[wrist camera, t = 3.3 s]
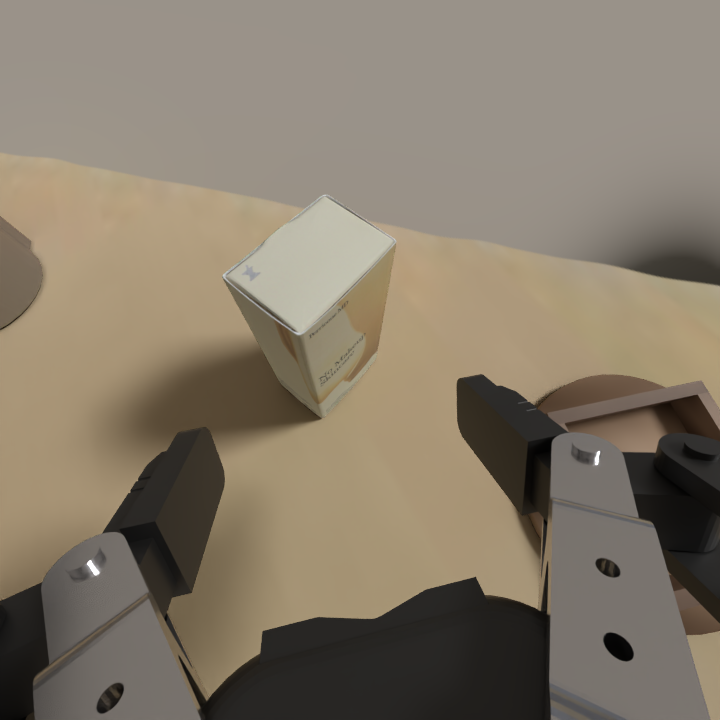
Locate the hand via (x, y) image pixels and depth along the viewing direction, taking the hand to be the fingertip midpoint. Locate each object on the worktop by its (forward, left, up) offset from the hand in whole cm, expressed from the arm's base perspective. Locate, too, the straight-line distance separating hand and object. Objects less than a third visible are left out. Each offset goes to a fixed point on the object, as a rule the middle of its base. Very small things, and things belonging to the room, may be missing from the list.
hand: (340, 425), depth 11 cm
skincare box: (-7, 0, -12) cm, 14 cm away
